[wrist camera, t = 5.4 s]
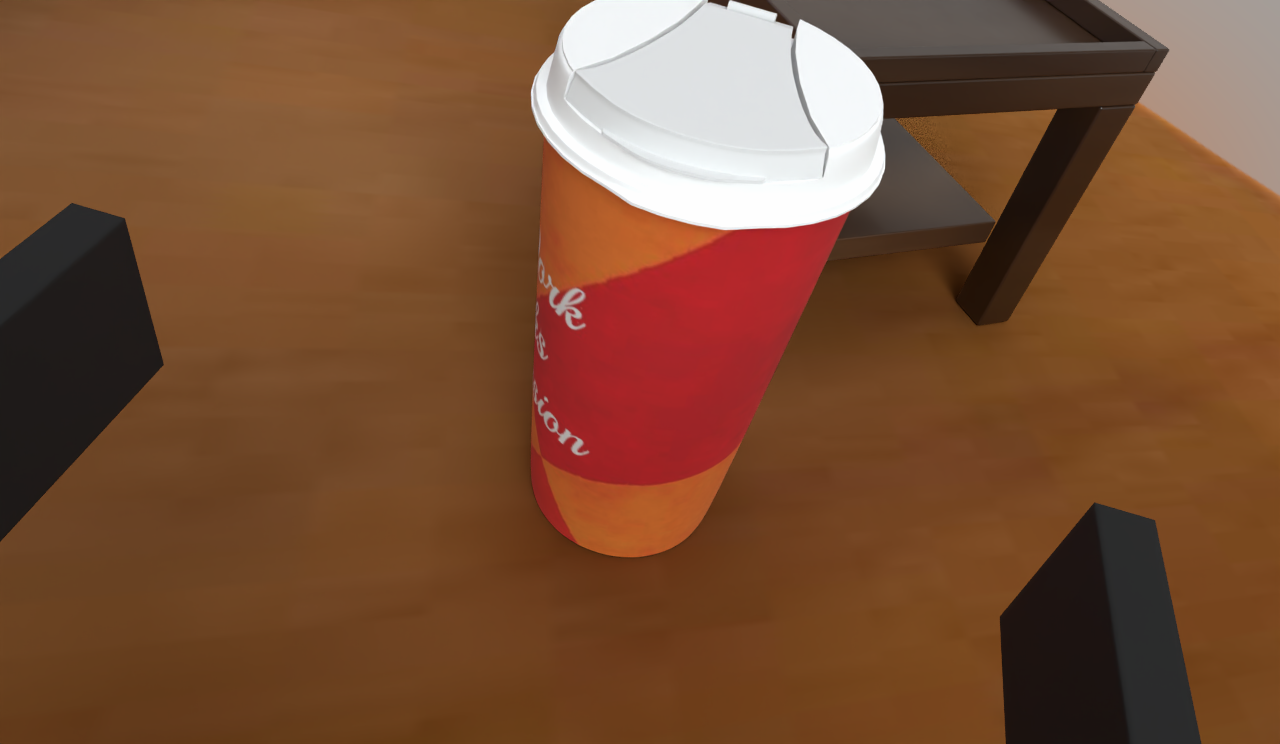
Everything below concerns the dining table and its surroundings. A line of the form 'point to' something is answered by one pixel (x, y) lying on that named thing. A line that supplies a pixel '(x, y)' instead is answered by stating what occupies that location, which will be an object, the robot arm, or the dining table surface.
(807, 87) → the paper cup
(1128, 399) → the dining table surface
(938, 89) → the rack
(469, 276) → the dining table surface
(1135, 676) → the robot arm
